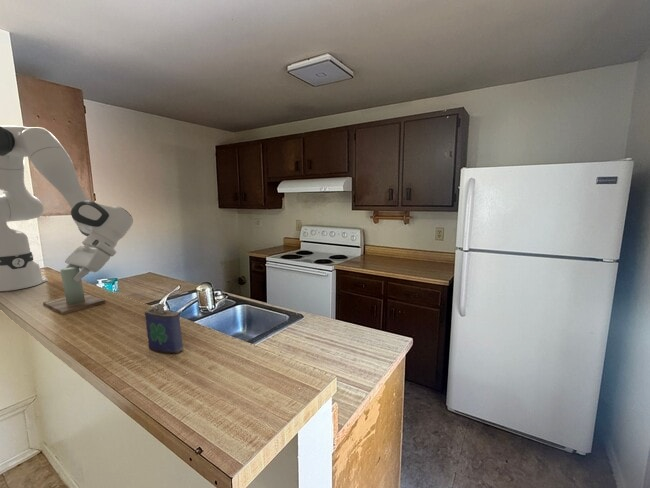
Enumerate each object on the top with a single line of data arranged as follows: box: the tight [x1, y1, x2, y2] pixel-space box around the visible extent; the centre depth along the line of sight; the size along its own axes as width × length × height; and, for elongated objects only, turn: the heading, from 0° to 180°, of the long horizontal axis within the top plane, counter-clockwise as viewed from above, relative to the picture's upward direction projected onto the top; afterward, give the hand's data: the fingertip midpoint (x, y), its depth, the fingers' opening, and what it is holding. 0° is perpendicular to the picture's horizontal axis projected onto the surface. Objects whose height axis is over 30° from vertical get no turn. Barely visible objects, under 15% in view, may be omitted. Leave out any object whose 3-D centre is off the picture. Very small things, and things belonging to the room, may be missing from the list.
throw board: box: [42, 292, 106, 315], centre depth 109 cm, size 18×12×1 cm, turn 57°
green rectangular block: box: [59, 267, 85, 305], centre depth 107 cm, size 5×5×12 cm
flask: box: [144, 303, 184, 355], centre depth 73 cm, size 10×3×12 cm, turn 69°
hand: (69, 278), depth 106 cm, fingers open, 8 cm apart
